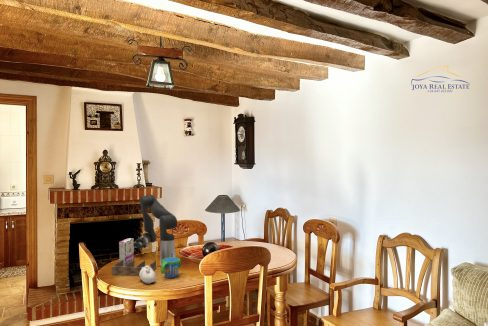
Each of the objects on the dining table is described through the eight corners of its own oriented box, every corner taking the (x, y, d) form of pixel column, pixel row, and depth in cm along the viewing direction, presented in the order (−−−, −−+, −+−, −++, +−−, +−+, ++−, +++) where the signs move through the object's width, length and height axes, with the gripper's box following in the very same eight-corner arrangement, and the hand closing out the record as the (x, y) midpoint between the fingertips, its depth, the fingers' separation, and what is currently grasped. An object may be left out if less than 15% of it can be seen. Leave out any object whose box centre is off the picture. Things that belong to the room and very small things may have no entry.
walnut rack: (156, 268, 236) (156, 260, 236) (147, 276, 221) (147, 267, 221) (122, 267, 239) (122, 259, 239) (111, 274, 224) (111, 266, 224)
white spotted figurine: (153, 268, 205) (145, 259, 218) (140, 277, 202) (133, 267, 215) (161, 280, 209) (152, 271, 221) (149, 290, 206) (141, 279, 218)
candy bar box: (127, 261, 252) (127, 238, 251) (134, 262, 251) (134, 238, 250) (118, 266, 241) (118, 241, 240) (125, 267, 240) (125, 242, 239)
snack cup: (174, 271, 230) (174, 255, 230) (186, 274, 224) (186, 258, 224) (155, 278, 218) (155, 260, 218) (167, 281, 212) (167, 264, 211)
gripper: (132, 237, 272) (122, 242, 256) (150, 237, 270) (142, 242, 254) (132, 247, 272) (122, 252, 256) (150, 247, 270) (142, 253, 254)
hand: (132, 247), depth 255 cm, fingers open, 8 cm apart
